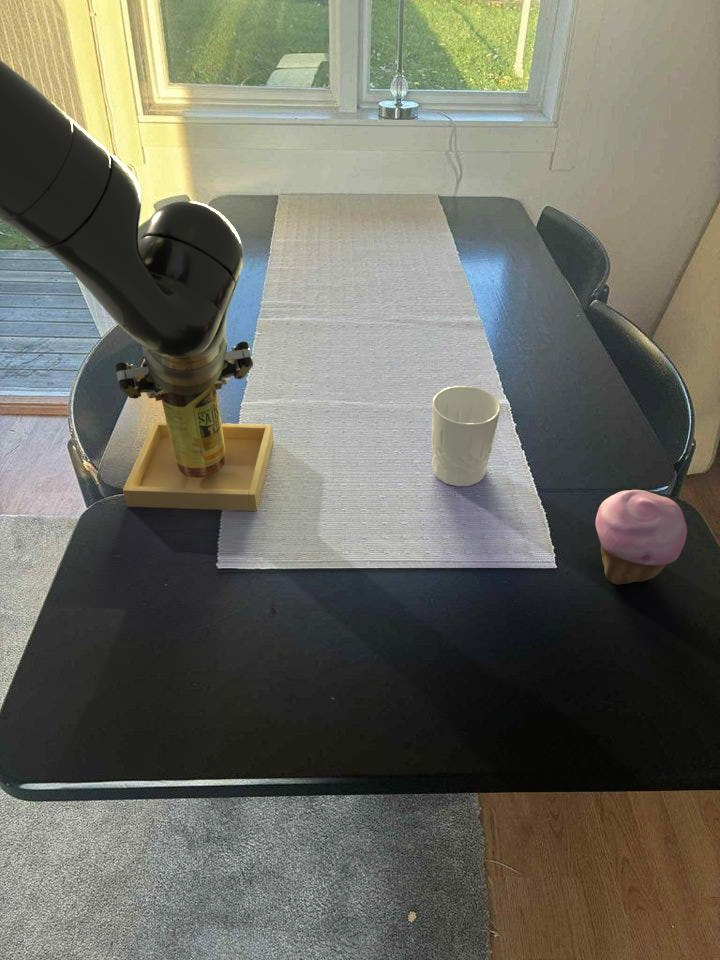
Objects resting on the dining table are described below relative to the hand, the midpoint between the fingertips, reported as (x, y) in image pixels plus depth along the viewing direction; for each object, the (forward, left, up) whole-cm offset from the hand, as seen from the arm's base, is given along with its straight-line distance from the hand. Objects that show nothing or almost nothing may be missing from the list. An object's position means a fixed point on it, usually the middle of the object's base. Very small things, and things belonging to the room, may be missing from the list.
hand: (186, 386), depth 81 cm
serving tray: (+1, -1, -12) cm, 12 cm away
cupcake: (+50, -15, -12) cm, 53 cm away
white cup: (+33, +1, -12) cm, 35 cm away
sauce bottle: (+1, -2, -11) cm, 11 cm away
